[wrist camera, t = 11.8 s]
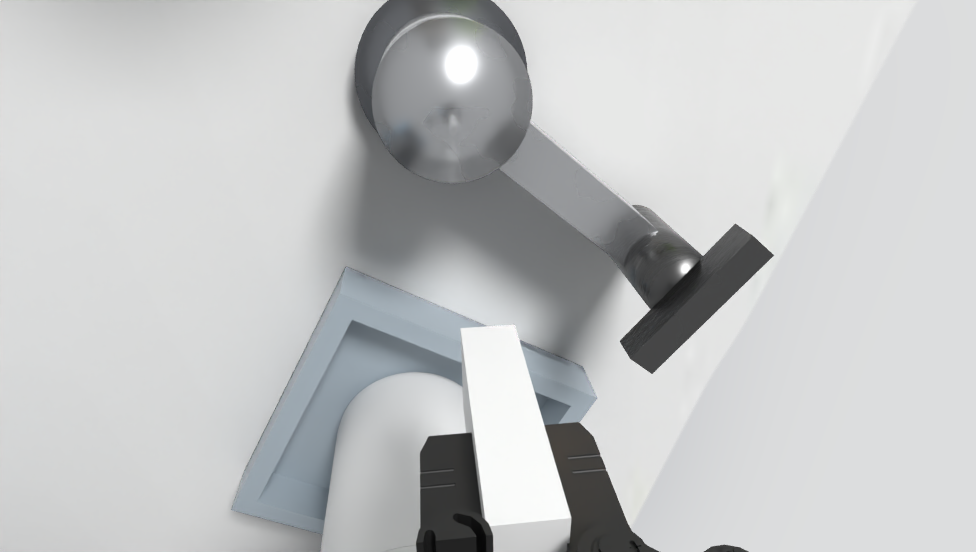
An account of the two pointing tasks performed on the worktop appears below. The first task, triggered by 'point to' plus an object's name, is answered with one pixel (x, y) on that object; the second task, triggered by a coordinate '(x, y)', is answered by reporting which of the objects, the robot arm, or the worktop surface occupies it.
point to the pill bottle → (386, 461)
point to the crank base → (404, 7)
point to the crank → (543, 172)
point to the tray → (355, 365)
